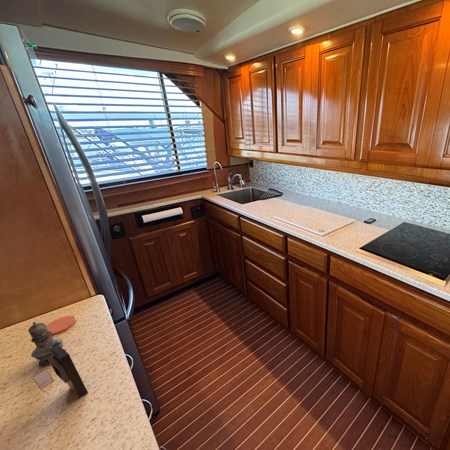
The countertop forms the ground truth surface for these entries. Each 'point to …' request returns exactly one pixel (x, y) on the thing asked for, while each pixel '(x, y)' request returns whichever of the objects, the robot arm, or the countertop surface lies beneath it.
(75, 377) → the flush panel
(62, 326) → the coaster
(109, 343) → the countertop surface
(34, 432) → the countertop surface
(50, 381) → the flush button
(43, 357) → the grey buddha statue
